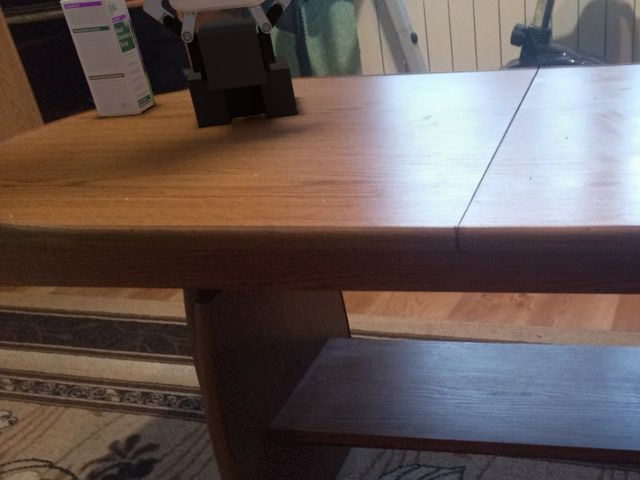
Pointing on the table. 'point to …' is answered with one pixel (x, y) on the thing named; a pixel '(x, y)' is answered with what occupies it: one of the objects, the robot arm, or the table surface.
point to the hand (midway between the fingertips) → (237, 73)
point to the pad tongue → (231, 53)
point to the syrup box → (109, 55)
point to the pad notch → (244, 97)
